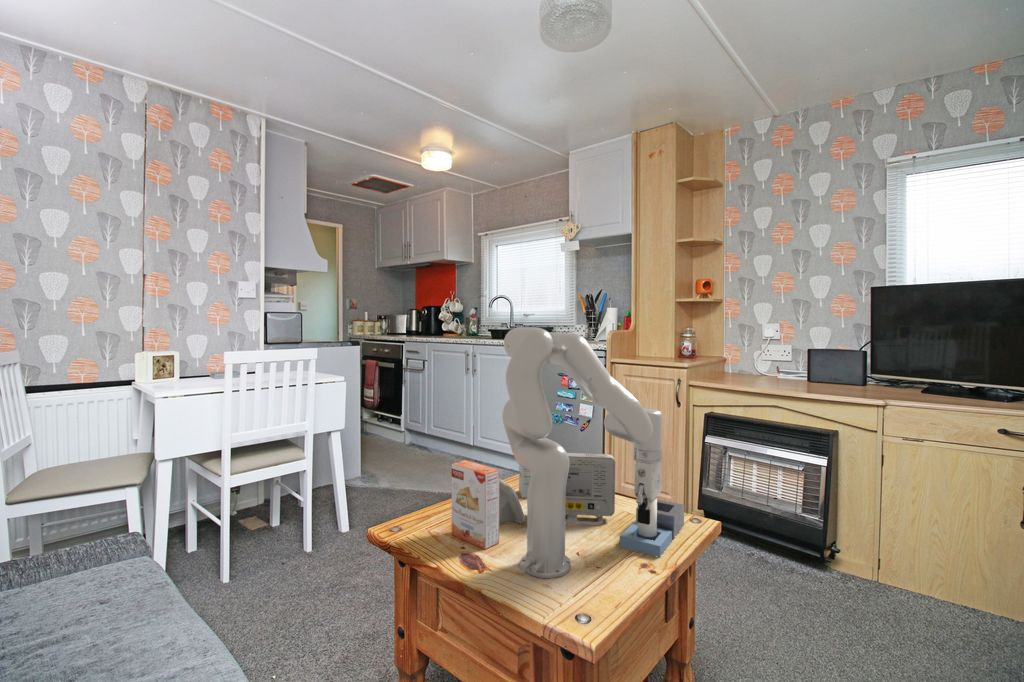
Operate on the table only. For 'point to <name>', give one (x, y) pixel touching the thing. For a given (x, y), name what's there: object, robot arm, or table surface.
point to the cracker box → (475, 503)
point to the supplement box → (524, 481)
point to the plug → (652, 527)
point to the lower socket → (645, 541)
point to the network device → (590, 487)
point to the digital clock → (509, 505)
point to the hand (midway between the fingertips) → (647, 519)
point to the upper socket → (669, 516)
